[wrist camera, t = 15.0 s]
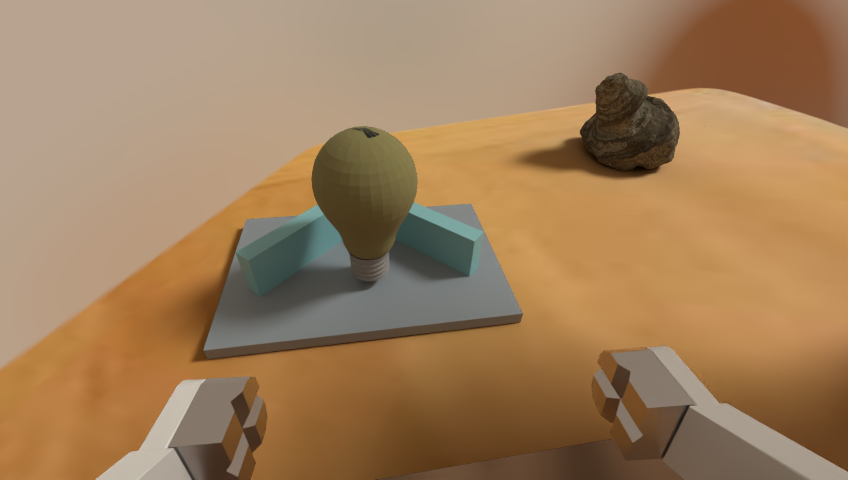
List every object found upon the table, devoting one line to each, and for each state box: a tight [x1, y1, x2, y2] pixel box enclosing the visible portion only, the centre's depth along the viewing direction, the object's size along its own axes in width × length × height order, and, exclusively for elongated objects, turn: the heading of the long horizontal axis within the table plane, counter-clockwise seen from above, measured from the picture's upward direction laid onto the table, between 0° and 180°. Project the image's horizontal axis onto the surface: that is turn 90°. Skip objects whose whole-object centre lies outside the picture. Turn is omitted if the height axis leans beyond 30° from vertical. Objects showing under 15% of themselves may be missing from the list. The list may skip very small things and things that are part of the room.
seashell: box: [580, 73, 705, 171], centre depth 39 cm, size 11×12×10 cm
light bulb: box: [312, 126, 417, 281], centre depth 22 cm, size 6×6×10 cm
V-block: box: [203, 202, 523, 359], centre depth 25 cm, size 18×12×4 cm, turn 99°
